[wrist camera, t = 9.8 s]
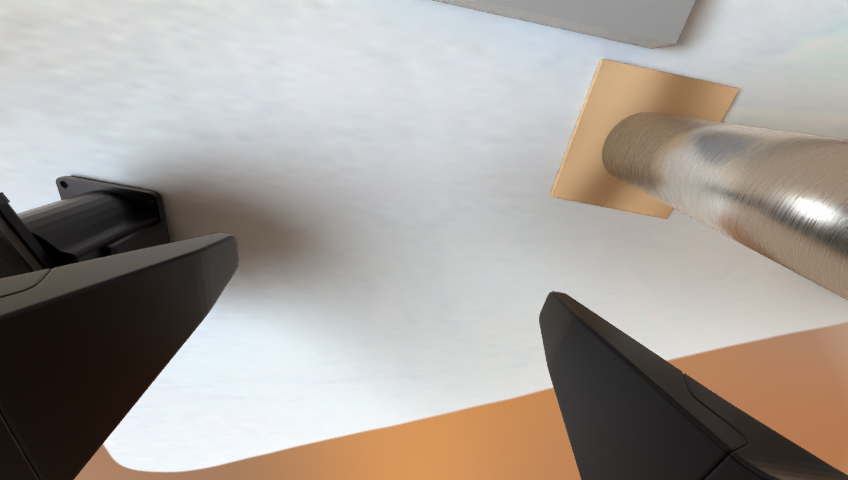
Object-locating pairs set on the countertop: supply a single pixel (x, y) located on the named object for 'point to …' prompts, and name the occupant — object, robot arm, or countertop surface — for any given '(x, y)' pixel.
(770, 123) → the countertop surface
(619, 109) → the coaster
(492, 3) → the cover plate
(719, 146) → the t key
